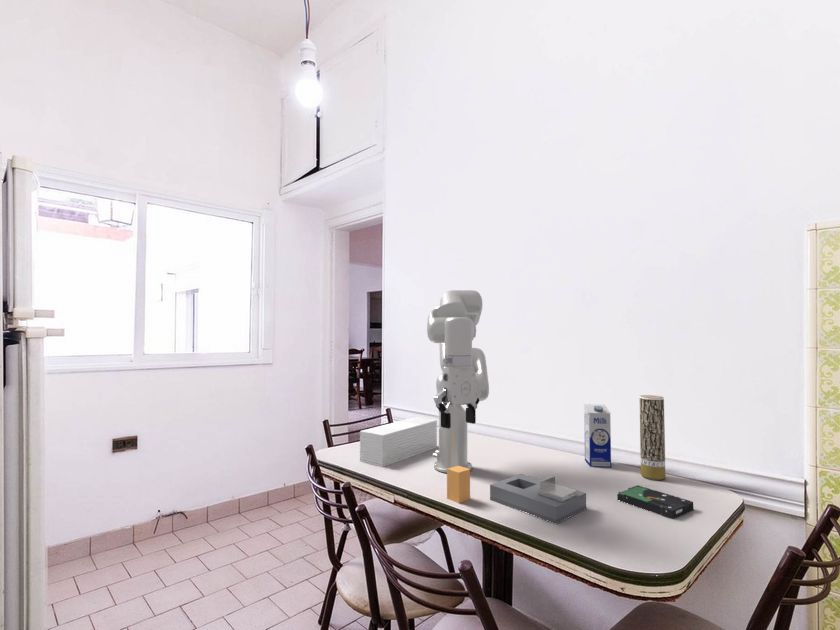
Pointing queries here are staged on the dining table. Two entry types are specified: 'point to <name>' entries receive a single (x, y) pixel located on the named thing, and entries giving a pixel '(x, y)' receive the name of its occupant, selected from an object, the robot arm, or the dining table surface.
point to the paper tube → (652, 437)
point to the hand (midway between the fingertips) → (458, 425)
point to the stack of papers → (397, 441)
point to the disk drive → (656, 501)
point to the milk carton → (597, 435)
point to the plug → (458, 484)
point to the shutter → (554, 490)
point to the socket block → (534, 499)
